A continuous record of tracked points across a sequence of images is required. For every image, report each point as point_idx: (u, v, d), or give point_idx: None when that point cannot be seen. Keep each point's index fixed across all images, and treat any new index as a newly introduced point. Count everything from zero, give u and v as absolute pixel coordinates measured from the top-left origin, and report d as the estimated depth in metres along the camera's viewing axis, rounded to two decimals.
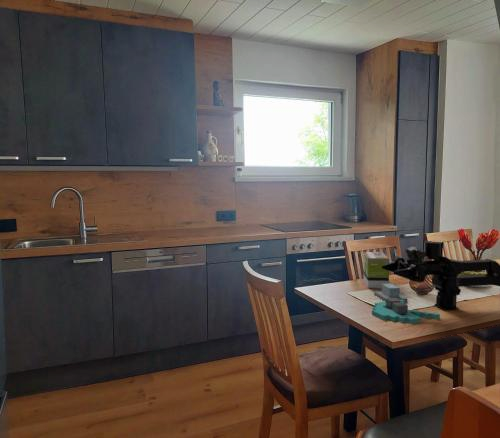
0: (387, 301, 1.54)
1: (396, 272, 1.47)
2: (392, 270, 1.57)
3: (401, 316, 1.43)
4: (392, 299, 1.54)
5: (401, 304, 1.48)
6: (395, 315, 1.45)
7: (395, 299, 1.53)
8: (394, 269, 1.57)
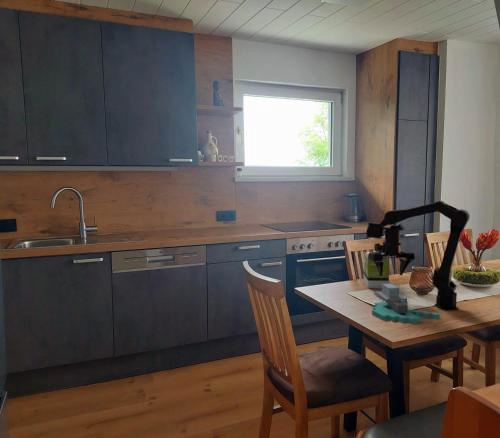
0: (388, 301, 1.54)
1: (379, 274, 1.68)
2: (403, 265, 1.67)
3: (401, 316, 1.43)
4: (393, 299, 1.53)
5: (402, 303, 1.48)
6: (395, 314, 1.45)
7: (396, 299, 1.53)
8: (403, 263, 1.67)
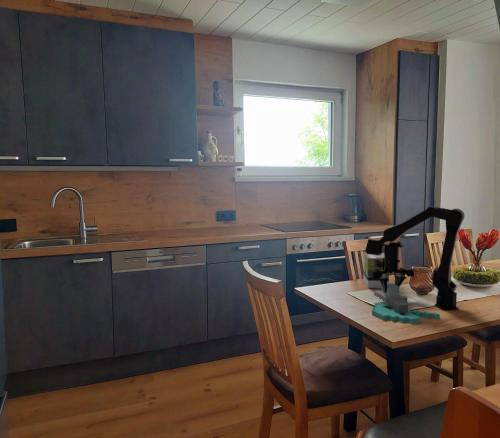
0: (389, 301, 1.53)
1: (384, 290, 1.69)
2: (398, 282, 1.67)
3: (401, 316, 1.43)
4: (394, 299, 1.53)
5: (402, 303, 1.49)
6: (395, 314, 1.45)
7: (397, 299, 1.53)
8: (398, 280, 1.68)
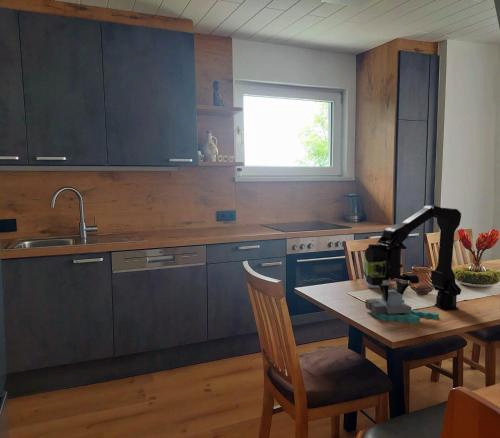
0: (366, 302, 1.52)
1: (384, 299, 1.50)
2: (400, 290, 1.48)
3: (400, 316, 1.43)
4: (371, 300, 1.52)
5: (380, 304, 1.47)
6: (394, 314, 1.45)
7: (374, 300, 1.52)
8: (400, 287, 1.49)
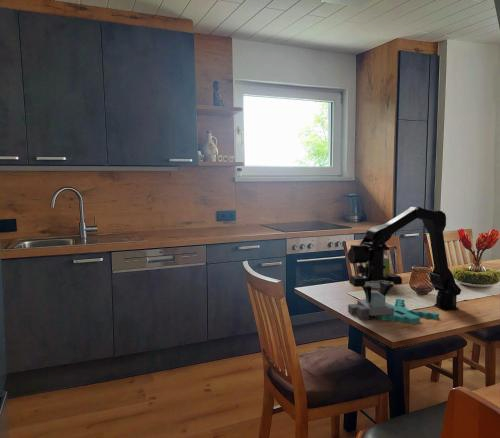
0: (349, 307, 1.52)
1: (367, 300, 1.49)
2: (384, 291, 1.48)
3: (400, 316, 1.43)
4: (354, 305, 1.52)
5: (358, 311, 1.46)
6: (394, 314, 1.45)
7: (357, 305, 1.52)
8: (383, 288, 1.48)
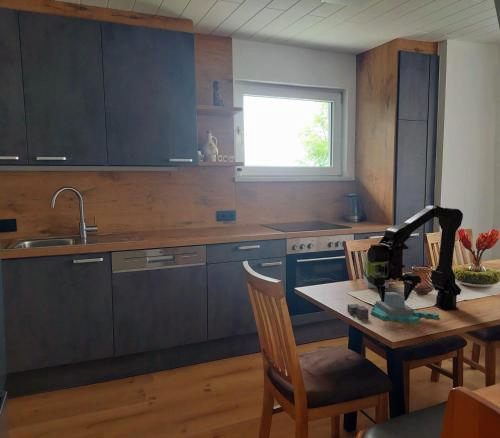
0: (348, 307, 1.52)
1: (381, 299, 1.50)
2: (408, 290, 1.49)
3: (400, 317, 1.43)
4: (353, 305, 1.52)
5: (358, 311, 1.46)
6: None
7: (356, 305, 1.52)
8: (408, 287, 1.49)
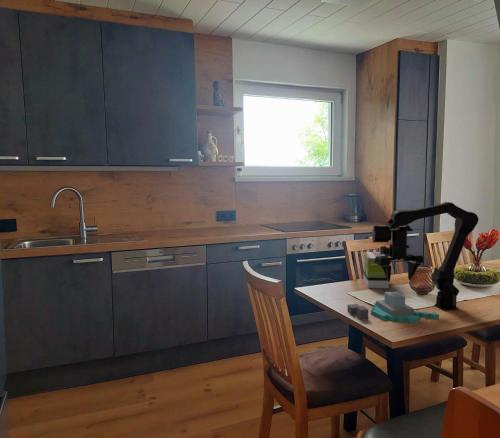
0: (348, 307, 1.52)
1: (387, 279, 1.57)
2: (412, 269, 1.57)
3: (400, 316, 1.43)
4: (353, 305, 1.52)
5: (358, 311, 1.46)
6: None
7: (356, 305, 1.52)
8: (412, 267, 1.57)
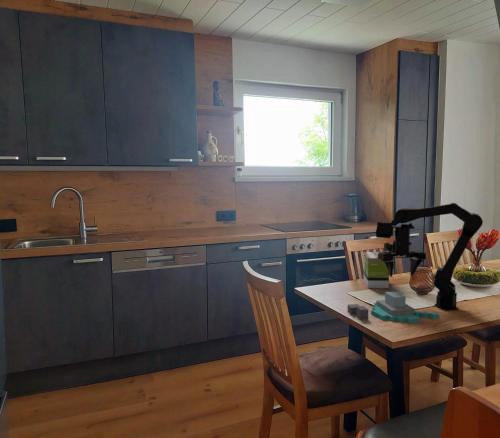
0: (348, 307, 1.53)
1: (389, 274, 1.63)
2: (414, 265, 1.62)
3: (400, 316, 1.43)
4: (353, 305, 1.52)
5: (358, 311, 1.46)
6: None
7: (356, 305, 1.52)
8: (414, 263, 1.62)
